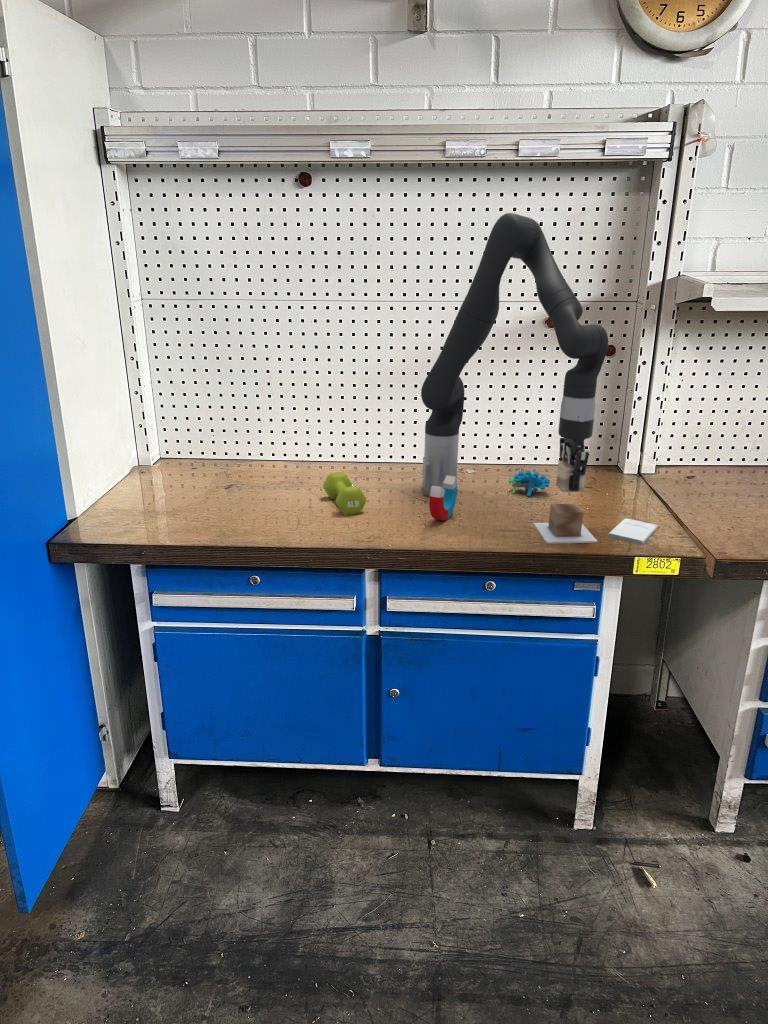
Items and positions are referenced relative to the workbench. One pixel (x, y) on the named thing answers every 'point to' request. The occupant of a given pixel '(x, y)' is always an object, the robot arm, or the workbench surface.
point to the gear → (529, 481)
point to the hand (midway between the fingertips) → (569, 486)
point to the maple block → (567, 477)
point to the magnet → (443, 499)
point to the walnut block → (565, 520)
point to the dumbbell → (344, 493)
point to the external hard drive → (633, 531)
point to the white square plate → (551, 538)
